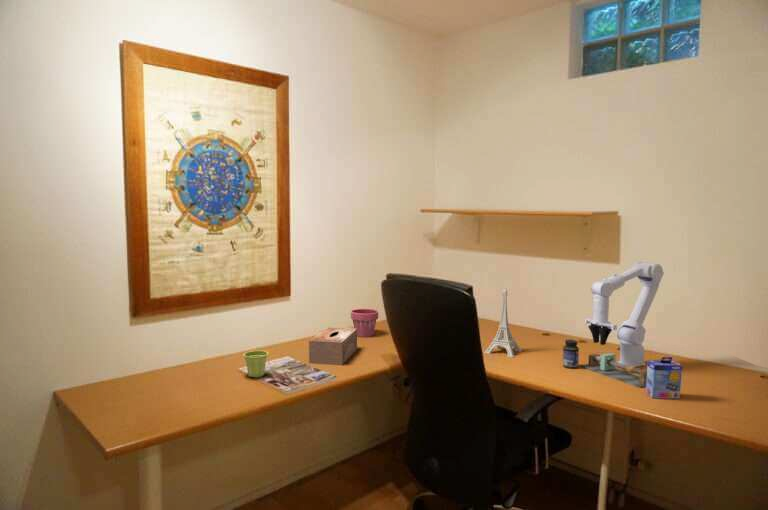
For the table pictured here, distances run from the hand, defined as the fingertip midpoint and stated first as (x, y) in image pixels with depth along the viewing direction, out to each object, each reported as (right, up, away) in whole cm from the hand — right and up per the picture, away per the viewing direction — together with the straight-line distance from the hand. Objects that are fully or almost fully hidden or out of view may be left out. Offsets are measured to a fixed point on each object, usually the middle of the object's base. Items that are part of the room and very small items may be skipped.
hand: (599, 343), depth 210 cm
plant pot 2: (-99, -6, +55) cm, 113 cm away
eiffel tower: (-34, -9, +25) cm, 43 cm away
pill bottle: (-11, -10, +3) cm, 15 cm away
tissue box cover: (-111, -9, +18) cm, 113 cm away
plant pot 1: (-139, -11, -10) cm, 140 cm away
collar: (+2, -10, -3) cm, 10 cm away
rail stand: (+4, -11, -8) cm, 14 cm away
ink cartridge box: (+9, -13, -31) cm, 35 cm away
